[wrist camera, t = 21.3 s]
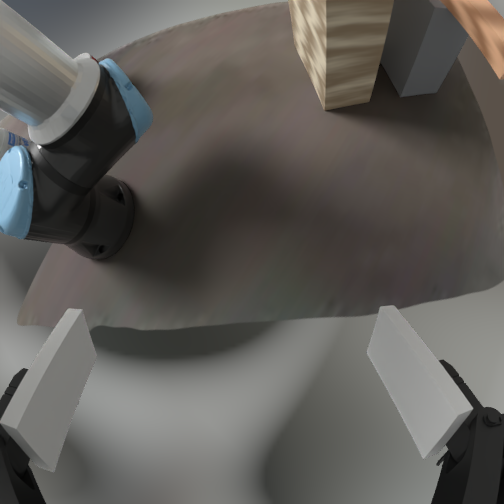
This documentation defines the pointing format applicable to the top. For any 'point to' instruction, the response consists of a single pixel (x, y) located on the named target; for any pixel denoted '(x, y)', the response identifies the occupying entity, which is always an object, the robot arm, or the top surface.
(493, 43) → the bar
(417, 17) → the low stand
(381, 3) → the tall stand
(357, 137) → the top surface
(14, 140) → the supplement tub
